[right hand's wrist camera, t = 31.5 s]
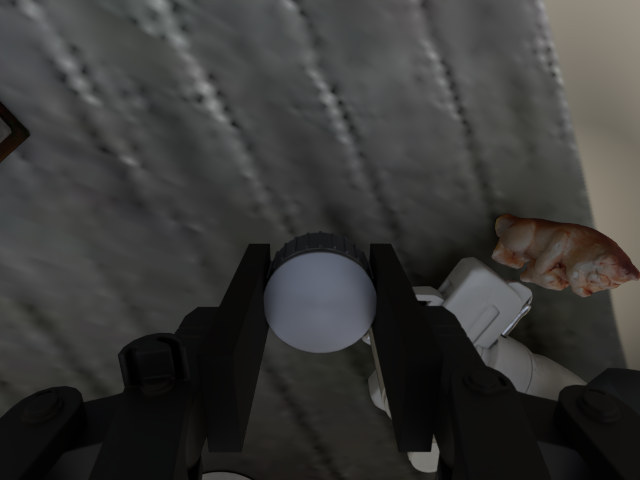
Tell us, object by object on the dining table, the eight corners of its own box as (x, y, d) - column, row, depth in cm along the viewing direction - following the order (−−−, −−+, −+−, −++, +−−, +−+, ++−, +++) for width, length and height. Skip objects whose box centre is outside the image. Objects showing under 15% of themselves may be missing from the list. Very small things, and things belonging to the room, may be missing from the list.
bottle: (398, 270, 47) (469, 428, 25) (398, 304, 49) (464, 482, 26) (359, 272, 47) (394, 432, 25) (360, 306, 49) (394, 485, 27)
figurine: (473, 246, 46) (541, 312, 32) (509, 188, 44) (599, 232, 30) (517, 265, 47) (602, 338, 33) (555, 209, 44) (664, 262, 30)
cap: (248, 257, 14) (238, 281, 12) (345, 212, 14) (349, 229, 12) (297, 338, 15) (294, 370, 14) (388, 300, 15) (397, 328, 13)
